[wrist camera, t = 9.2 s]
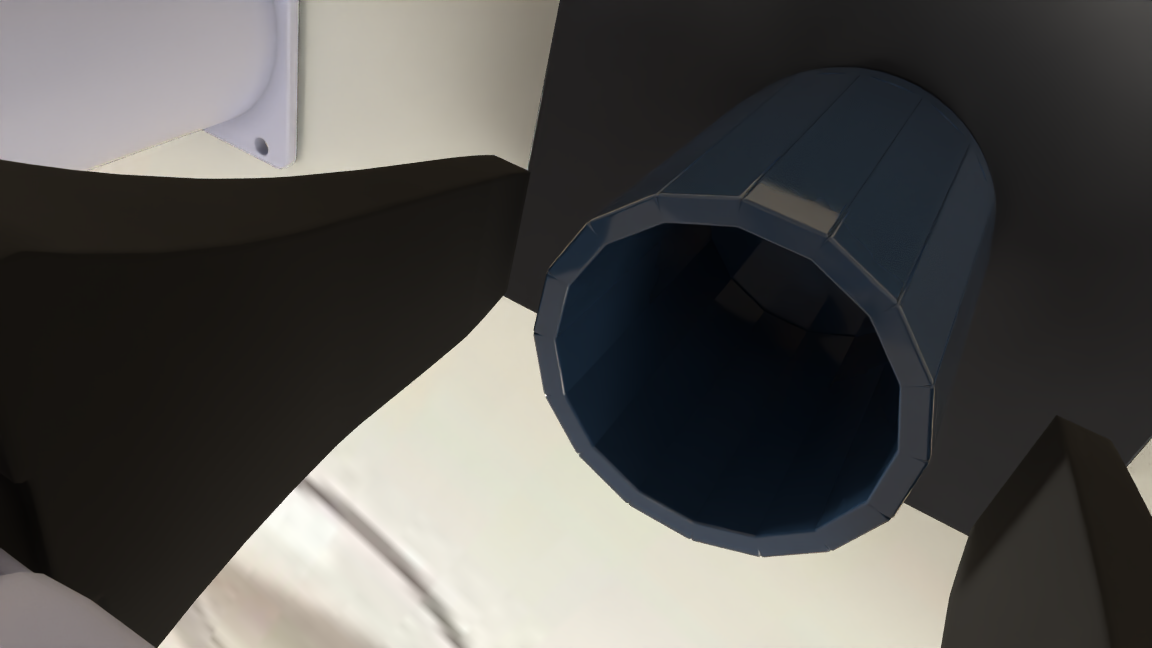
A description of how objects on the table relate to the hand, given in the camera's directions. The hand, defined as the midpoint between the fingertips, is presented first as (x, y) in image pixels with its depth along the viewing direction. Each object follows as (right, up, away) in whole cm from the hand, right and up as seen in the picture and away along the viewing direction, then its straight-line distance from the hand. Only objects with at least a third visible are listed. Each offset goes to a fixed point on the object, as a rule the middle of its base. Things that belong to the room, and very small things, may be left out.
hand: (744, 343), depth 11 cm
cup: (+2, +2, +3) cm, 5 cm away
